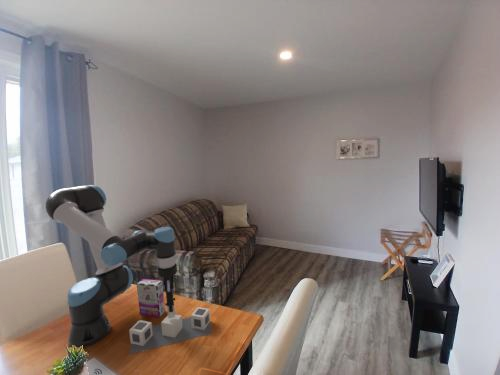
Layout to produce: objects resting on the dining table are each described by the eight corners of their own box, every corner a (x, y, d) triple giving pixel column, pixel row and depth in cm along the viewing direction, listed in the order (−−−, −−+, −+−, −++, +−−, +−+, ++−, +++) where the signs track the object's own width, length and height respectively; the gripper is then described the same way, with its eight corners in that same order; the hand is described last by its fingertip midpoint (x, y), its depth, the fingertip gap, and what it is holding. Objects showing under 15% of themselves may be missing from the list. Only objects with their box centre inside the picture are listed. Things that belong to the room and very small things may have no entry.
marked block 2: (191, 328, 108) (190, 315, 107) (198, 318, 114) (197, 306, 113) (204, 330, 106) (203, 317, 105) (210, 321, 112) (209, 308, 111)
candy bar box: (165, 311, 121) (163, 280, 118) (159, 318, 116) (157, 285, 113) (146, 308, 123) (143, 278, 121) (139, 315, 118) (136, 283, 116)
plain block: (162, 335, 104) (161, 322, 103) (170, 325, 110) (169, 313, 109) (174, 337, 102) (173, 324, 102) (182, 327, 108) (181, 315, 107)
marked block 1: (130, 343, 100) (128, 329, 99) (140, 332, 106) (139, 319, 105) (143, 346, 98) (141, 332, 97) (153, 335, 104) (151, 322, 103)
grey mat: (129, 355, 95) (129, 354, 95) (134, 330, 108) (134, 329, 108) (212, 334, 104) (212, 333, 104) (207, 314, 118) (207, 313, 118)
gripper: (177, 270, 97) (181, 324, 100) (176, 257, 109) (180, 306, 112) (156, 273, 94) (162, 329, 98) (158, 259, 107) (162, 309, 110)
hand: (171, 316), depth 105 cm, fingers closed
